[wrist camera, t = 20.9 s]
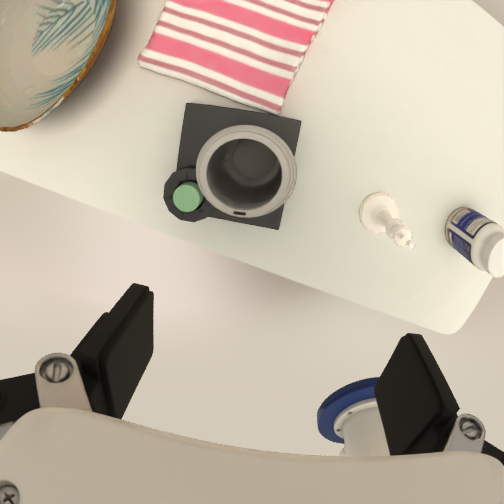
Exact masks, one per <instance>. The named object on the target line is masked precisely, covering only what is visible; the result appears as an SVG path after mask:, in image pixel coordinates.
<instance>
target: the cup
mask: <svg viewBox="0 0 504 504" xmlns="http://www.w3.org/2000/svg"><path fill="white" fill-rule="evenodd" d="M296 177H297V168H296V162H295V159H294V156H293V154H292V152H291V150H290V148H289V147H288V146H287V144H286V143H285V142H284V141H283V140H282V139H281V138H280V137H279V136H277V135H276V134H274V133H273V132H271V131H269V130H267V129H264V128H262V127H258V126H253V125H237V126H232V127H229V128H226V129H223V130H221V131H219V132H218V133H216V134H215V135H213V136H212V137H211V138H210V139H209V140H208V141H207V142H206V143H205V144H204V146H203V147H202V149H201V151H200V153H199V155H198V158H197V162H196V178H197V182H198V186H199V188H200V190H201V192H202V194H203V195H204V196H205V198H206V199H207V200H208V201H209V202H210V203H211V204H212V205H213V206H214V207H216V208H217V209H219V210H220V211H222V212H224V213H227V214H229V215H232V216H237V217H247V218H250V217H258V216H262V215H265V214H268V213H270V212H272V211H274V210H276V209H277V208H279V207H280V206H281V205H282V204H283V203H284V202H285V201H286V200H287V199H288V198H289V196H290V195H291V193H292V191H293V189H294V186H295V183H296Z"/></svg>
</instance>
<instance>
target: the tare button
mask: <svg viewBox="0 0 504 504" xmlns="http://www.w3.org/2000/svg"><path fill="white" fill-rule="evenodd" d="M202 200H203V194H202V192H201V190H200V188H199V186H198V184H197V183H195V182H185V183H183V184H182V185H181V186H179V187H178V188H177V189H176V190H175V192H174V194H173V201H174V204H175V206H176V207H177V208H178V209H179V210H181V211H184V212H190V211H193V210H195V209H196V208H197V207H198V206H199V204H200V203H201V202H202Z"/></svg>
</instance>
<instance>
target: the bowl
mask: <svg viewBox="0 0 504 504" xmlns="http://www.w3.org/2000/svg"><path fill="white" fill-rule="evenodd" d="M116 2H117V0H0V131H17V130H21V129H24V128H28V127H29V126H31V125H33V124H34V123H36V122H38V121H40V120H42V119H43V118H44V117H45V116H46V115H48V114H49V113H50V112H51V111H52V110H54V109H55V108H56V107H57V106H58V105H60V104H61V103H62V102H63V101H64V100H65V99H66V98H67V97H68V96H69V95H70V93H71V92H72V91H73V90H74V89H75V88H76V87H77V86H78V85H79V84H80V83H81V81H82V80H83V79H84V77H85V76H86V74H87V73H88V72H89V70H90V69H91V68H92V66H93V65H94V63H95V61H96V59H97V57H98V56H99V54H100V52H101V50H102V49H103V47H104V44H105V42H106V39H107V37H108V35H109V32H110V30H111V26H112V23H113V19H114V15H115V12H116Z"/></svg>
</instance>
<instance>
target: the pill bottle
mask: <svg viewBox="0 0 504 504" xmlns="http://www.w3.org/2000/svg"><path fill="white" fill-rule="evenodd" d="M446 238H447V240H448V242H449V244H450V245H451V246H452V247H453V248H454V249H456V250H457V251H458V252H459V253H460V254H462V255H463V256H464V257H465V258H466V259H467V260H469V261H470V262H471V263H472V264H473V265H474V266H476V267H477V268H478V269H480V270H485V271H487V272H488V273H489V274H491V275H492V276H494V277H502V276H504V229H503V228H502V227H501V226H500V225H498V224H497V223H495V222H493V221H492V220H490V219H488V218H487V217H485V216H483V215H481V214H480V213H478V212H476V211H474V210H473V209H471V208H467V207H463V208H459V209H457V210H456V211H455V212H453V213H452V215H451V216H450V218H449V219H448V222H447V225H446Z"/></svg>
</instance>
